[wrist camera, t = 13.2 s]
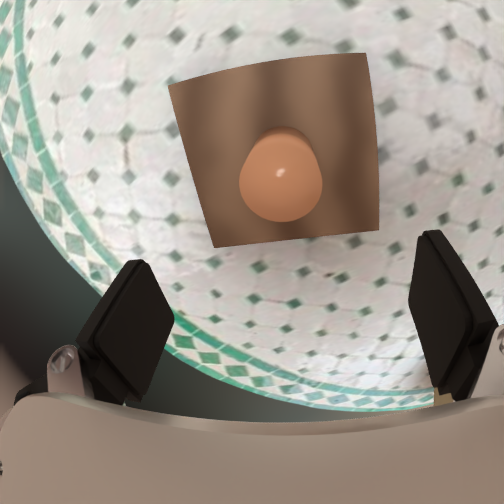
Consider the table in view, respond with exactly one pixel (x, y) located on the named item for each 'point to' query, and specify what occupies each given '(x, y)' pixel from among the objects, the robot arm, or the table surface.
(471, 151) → the table surface
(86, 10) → the table surface
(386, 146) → the table surface
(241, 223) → the walnut board
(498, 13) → the table surface
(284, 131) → the terracotta cylinder
